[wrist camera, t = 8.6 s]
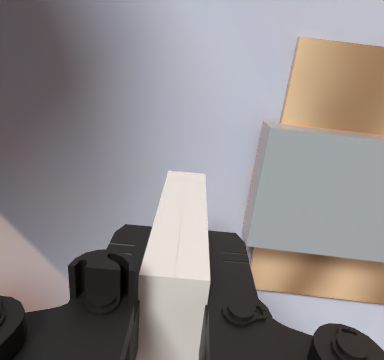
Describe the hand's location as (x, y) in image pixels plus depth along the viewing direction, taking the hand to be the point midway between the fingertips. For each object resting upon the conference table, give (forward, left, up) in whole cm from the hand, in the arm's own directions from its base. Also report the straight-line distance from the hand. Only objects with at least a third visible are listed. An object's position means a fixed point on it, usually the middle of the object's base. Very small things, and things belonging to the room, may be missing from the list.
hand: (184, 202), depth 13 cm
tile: (+4, -1, -5) cm, 6 cm away
